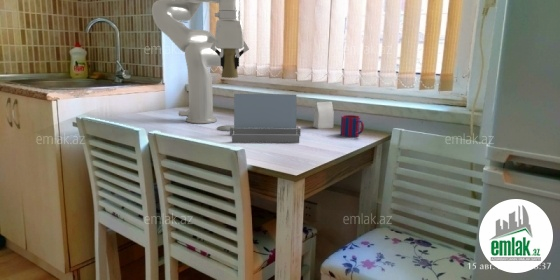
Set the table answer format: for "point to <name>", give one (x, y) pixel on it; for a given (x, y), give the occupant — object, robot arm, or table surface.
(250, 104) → the panel
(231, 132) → the bar
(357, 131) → the mug
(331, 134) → the table surface
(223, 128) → the pad
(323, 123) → the white printed box
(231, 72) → the cork
